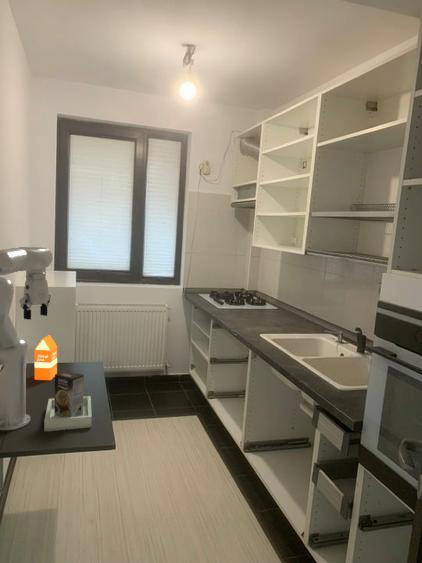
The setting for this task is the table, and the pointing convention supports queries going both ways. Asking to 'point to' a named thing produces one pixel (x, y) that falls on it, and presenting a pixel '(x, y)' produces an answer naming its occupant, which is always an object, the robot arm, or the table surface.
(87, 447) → the table surface
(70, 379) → the coffee box
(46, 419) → the tray
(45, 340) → the orange juice
